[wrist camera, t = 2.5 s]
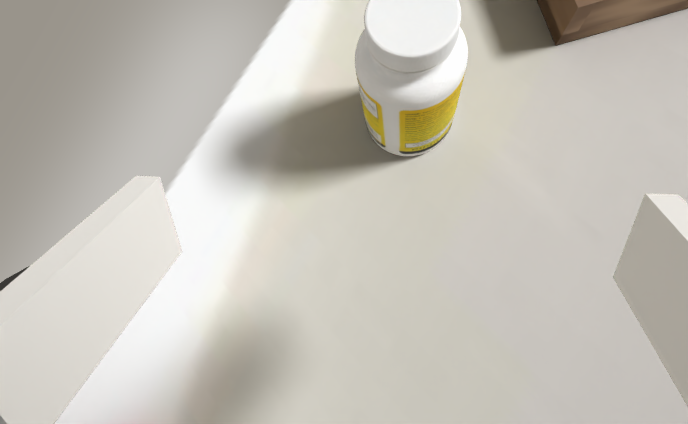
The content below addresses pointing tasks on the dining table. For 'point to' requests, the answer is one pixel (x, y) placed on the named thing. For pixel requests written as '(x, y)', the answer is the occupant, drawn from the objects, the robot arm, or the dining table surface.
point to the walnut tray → (600, 15)
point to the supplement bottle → (410, 72)
